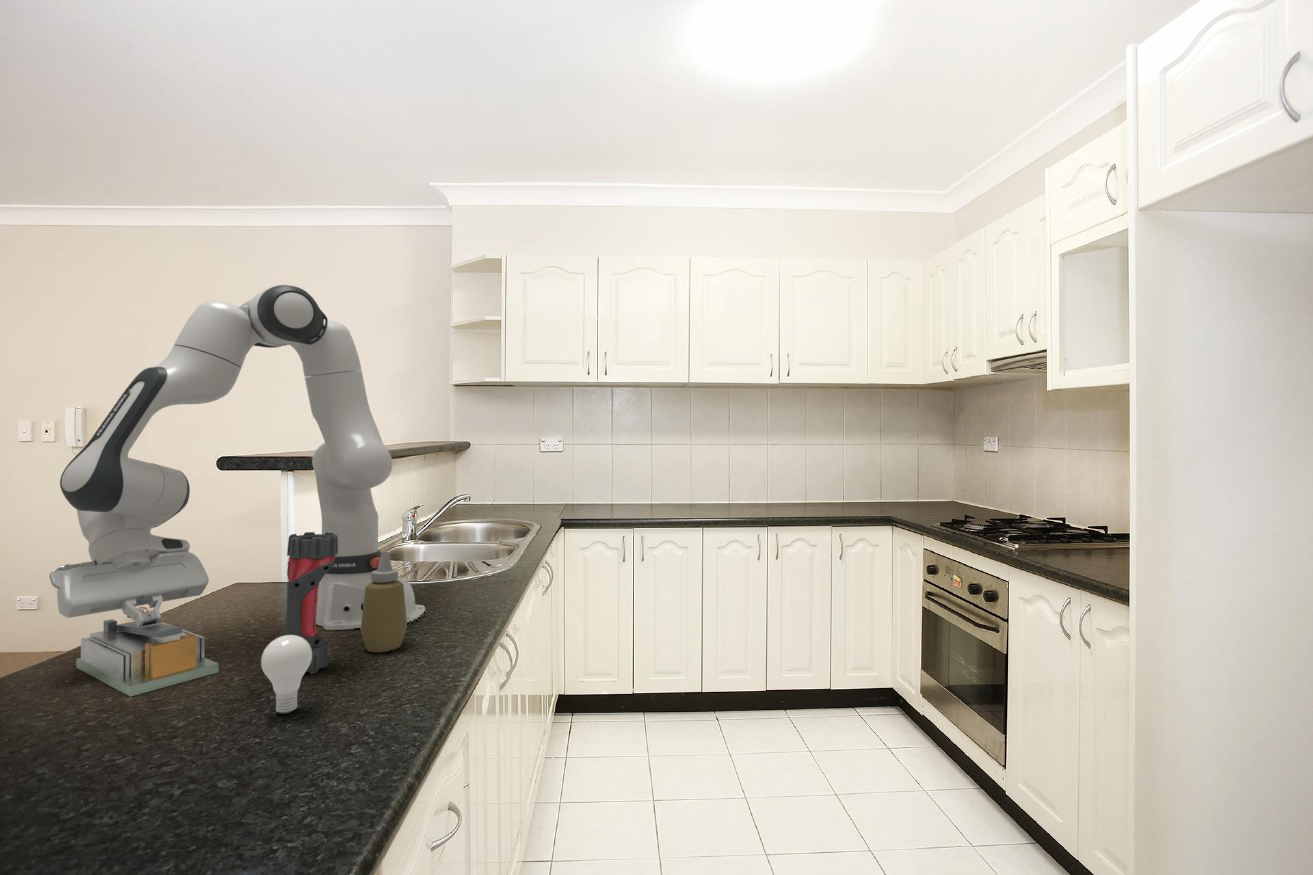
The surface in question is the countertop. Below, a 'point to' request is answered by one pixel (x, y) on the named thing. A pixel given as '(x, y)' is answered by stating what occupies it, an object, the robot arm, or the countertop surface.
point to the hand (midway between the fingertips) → (149, 623)
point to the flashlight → (308, 589)
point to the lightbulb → (286, 668)
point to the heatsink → (143, 659)
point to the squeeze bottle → (384, 609)
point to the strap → (150, 629)
